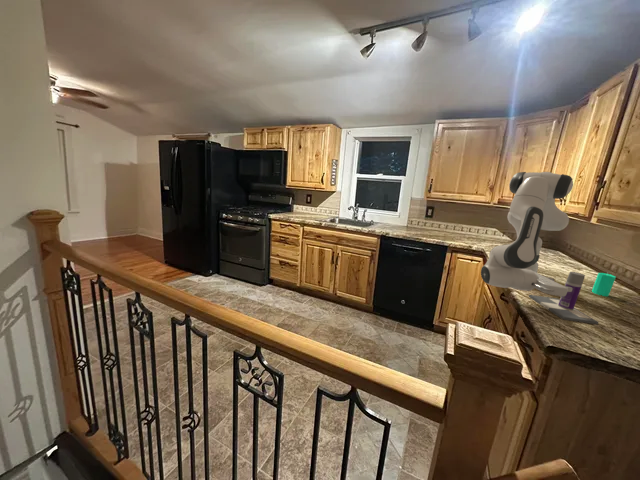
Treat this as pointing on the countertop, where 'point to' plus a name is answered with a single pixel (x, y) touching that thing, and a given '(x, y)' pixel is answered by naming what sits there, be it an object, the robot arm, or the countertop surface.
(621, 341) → the countertop surface
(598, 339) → the countertop surface
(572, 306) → the container
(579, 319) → the letter board
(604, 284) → the candle
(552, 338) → the countertop surface
